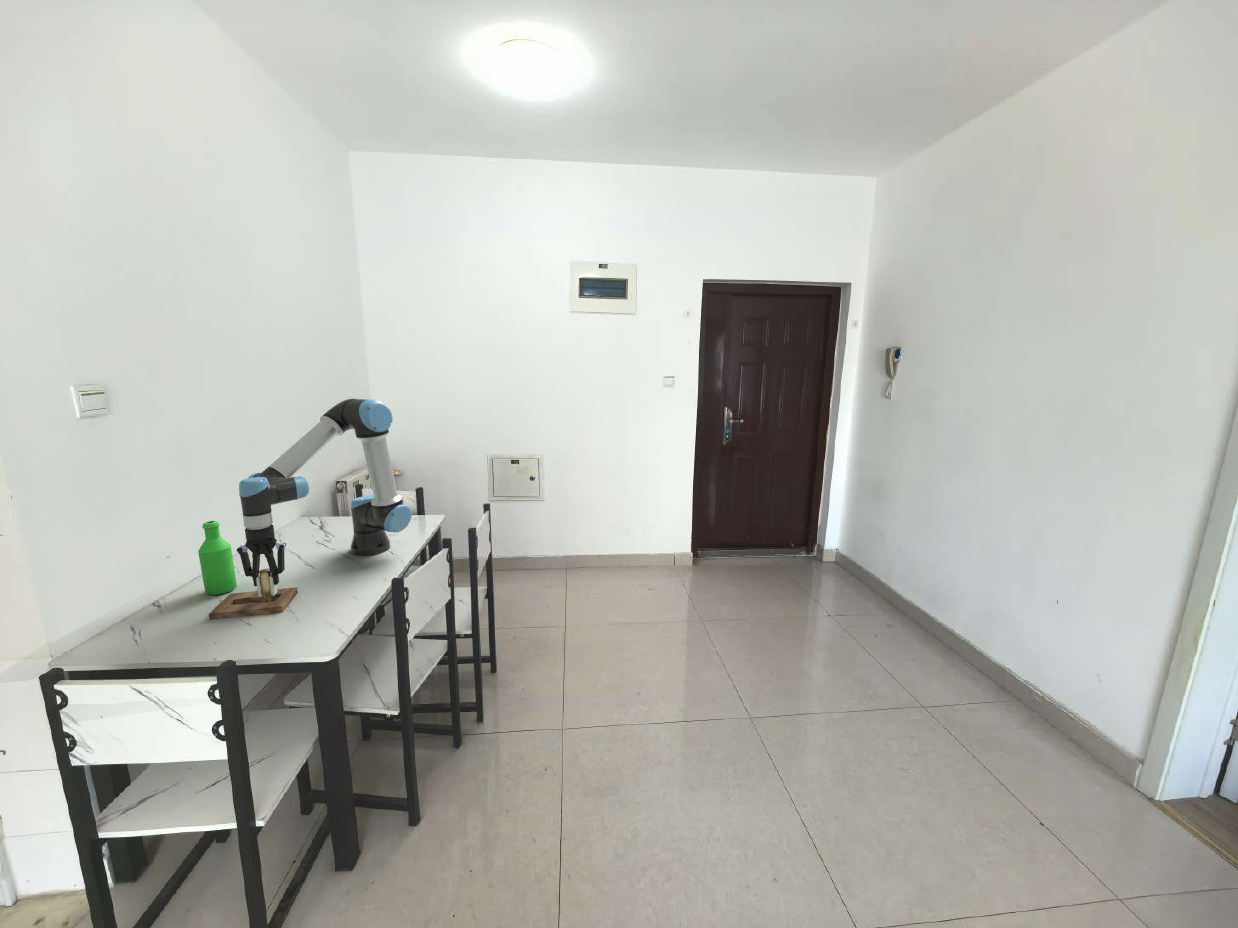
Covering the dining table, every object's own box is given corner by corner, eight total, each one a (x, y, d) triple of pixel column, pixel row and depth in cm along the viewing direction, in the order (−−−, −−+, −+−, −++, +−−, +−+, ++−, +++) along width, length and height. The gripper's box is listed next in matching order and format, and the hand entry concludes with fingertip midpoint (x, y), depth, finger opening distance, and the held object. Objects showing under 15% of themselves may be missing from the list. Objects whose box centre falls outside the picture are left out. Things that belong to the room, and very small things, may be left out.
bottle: (202, 598, 170) (190, 527, 164) (208, 587, 177) (197, 520, 172) (234, 593, 174) (223, 524, 168) (239, 583, 181) (229, 516, 176)
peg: (276, 601, 168) (272, 568, 165) (273, 605, 165) (268, 571, 163) (266, 602, 167) (261, 568, 165) (262, 606, 164) (257, 572, 162)
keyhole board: (297, 592, 174) (297, 587, 174) (282, 611, 161) (282, 606, 161) (230, 598, 169) (229, 593, 169) (209, 619, 156) (208, 613, 156)
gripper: (291, 520, 166) (299, 586, 171) (235, 524, 162) (244, 591, 167) (283, 527, 159) (291, 596, 164) (223, 531, 155) (234, 602, 160)
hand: (268, 594), depth 165 cm, fingers closed on peg, 3 cm apart
